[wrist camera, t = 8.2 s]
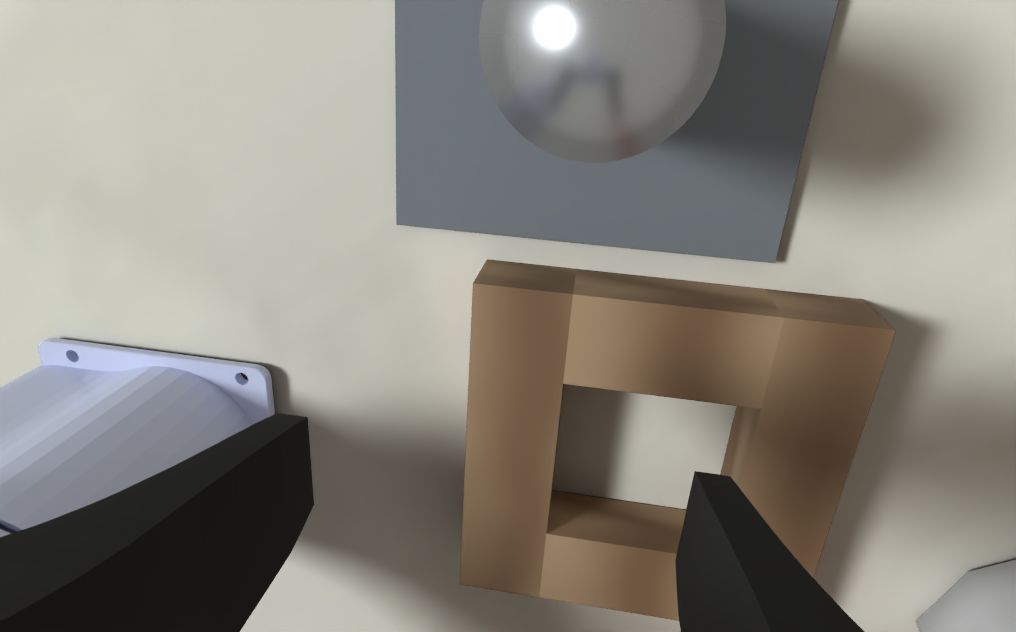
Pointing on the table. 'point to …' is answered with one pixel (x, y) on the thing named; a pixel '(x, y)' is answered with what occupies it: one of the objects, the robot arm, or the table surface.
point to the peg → (600, 70)
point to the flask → (976, 603)
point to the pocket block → (662, 372)
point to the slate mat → (617, 184)
